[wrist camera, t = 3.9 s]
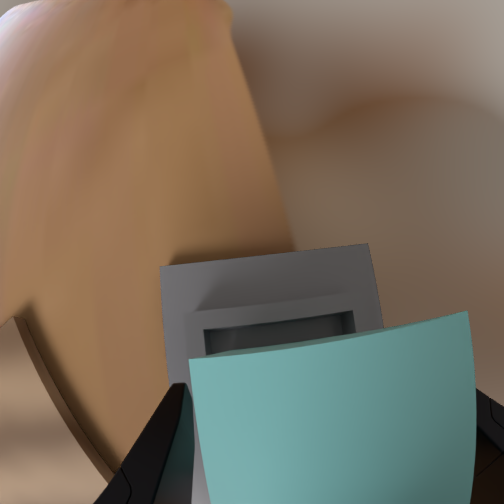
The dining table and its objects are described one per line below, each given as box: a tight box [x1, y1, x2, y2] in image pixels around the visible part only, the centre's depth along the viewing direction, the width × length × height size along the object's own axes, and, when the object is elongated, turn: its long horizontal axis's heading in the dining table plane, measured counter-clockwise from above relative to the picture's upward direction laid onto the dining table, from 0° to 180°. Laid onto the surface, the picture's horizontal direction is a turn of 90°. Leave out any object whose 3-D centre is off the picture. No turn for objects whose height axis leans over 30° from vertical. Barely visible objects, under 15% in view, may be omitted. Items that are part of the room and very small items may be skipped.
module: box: [189, 311, 476, 504], centre depth 9 cm, size 5×4×11 cm
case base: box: [160, 243, 384, 504], centre depth 14 cm, size 14×11×3 cm
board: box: [0, 316, 114, 504], centre depth 12 cm, size 13×13×1 cm
